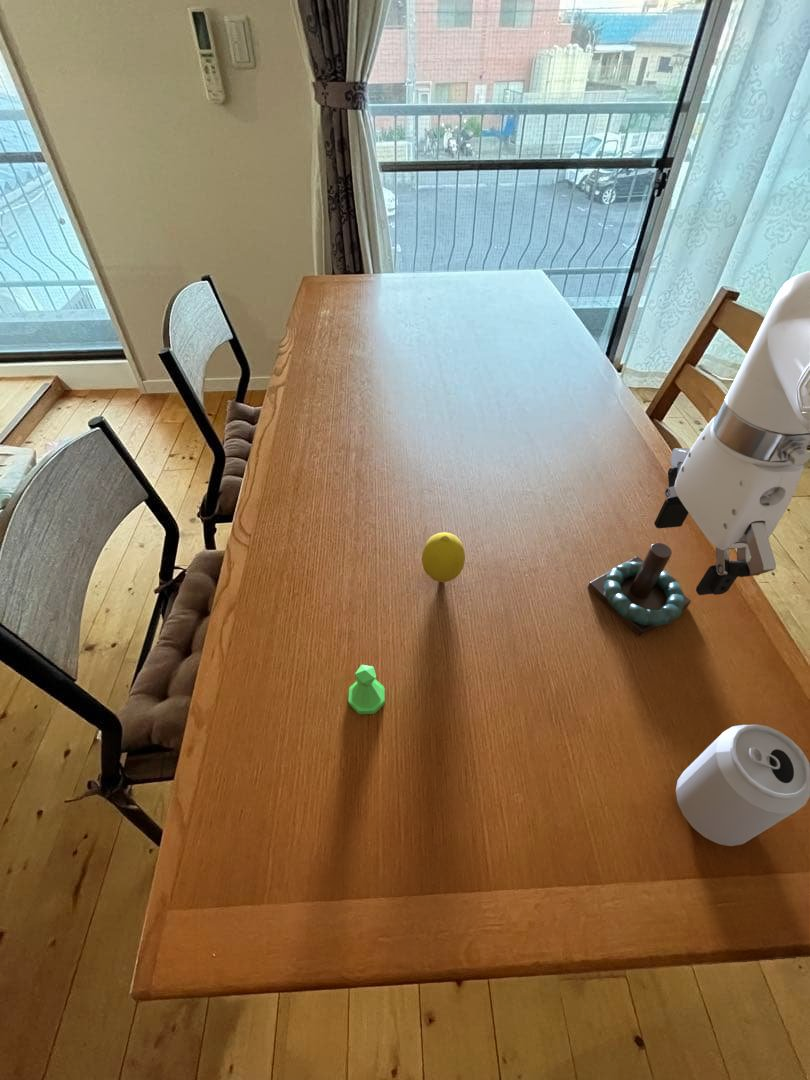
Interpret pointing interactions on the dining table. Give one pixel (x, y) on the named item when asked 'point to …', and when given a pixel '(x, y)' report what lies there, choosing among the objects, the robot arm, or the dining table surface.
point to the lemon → (443, 557)
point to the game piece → (366, 692)
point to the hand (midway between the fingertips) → (687, 556)
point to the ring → (636, 612)
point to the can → (744, 784)
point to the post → (641, 586)
